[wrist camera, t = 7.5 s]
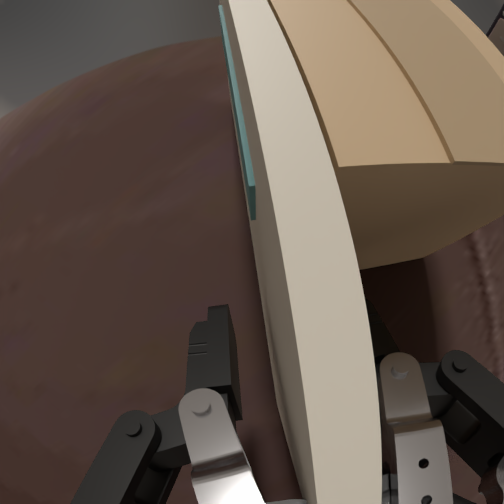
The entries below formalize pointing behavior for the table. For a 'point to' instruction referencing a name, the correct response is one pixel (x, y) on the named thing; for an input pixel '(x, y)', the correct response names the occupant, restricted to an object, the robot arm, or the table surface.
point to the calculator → (497, 31)
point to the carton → (403, 118)
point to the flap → (303, 267)
